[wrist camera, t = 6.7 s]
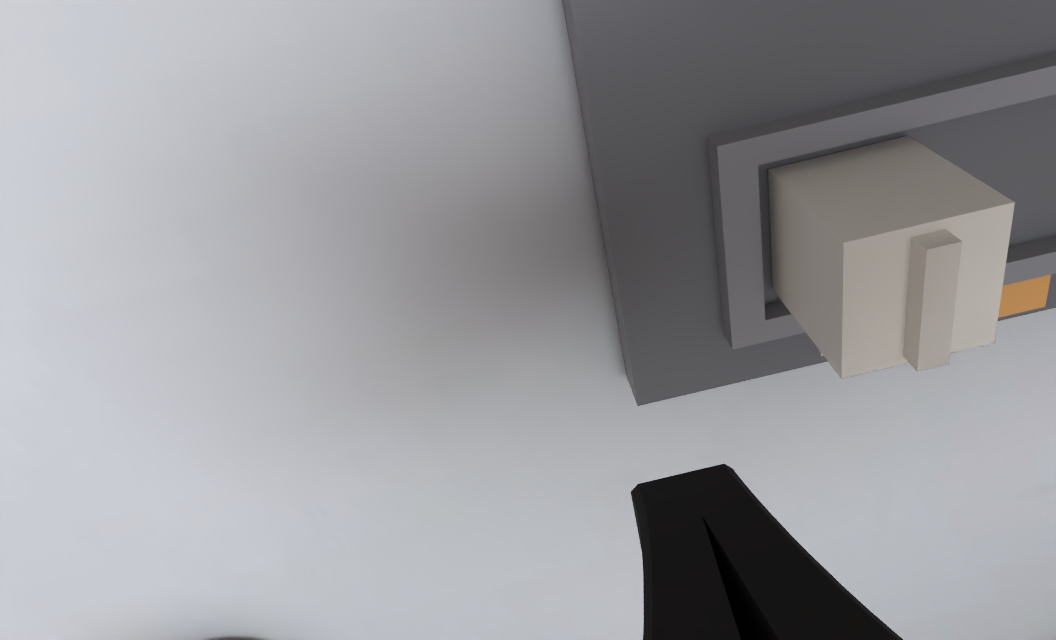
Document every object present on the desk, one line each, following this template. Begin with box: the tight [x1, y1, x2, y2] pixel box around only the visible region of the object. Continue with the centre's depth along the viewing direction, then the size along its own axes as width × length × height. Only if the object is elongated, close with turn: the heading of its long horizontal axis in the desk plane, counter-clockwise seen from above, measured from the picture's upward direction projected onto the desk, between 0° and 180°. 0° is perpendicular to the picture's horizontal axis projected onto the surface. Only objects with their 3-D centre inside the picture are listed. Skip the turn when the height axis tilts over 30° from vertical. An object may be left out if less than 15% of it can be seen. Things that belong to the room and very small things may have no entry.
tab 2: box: [768, 136, 1015, 379], centre depth 16 cm, size 3×3×4 cm
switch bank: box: [562, 0, 1056, 406], centre depth 15 cm, size 14×16×2 cm
